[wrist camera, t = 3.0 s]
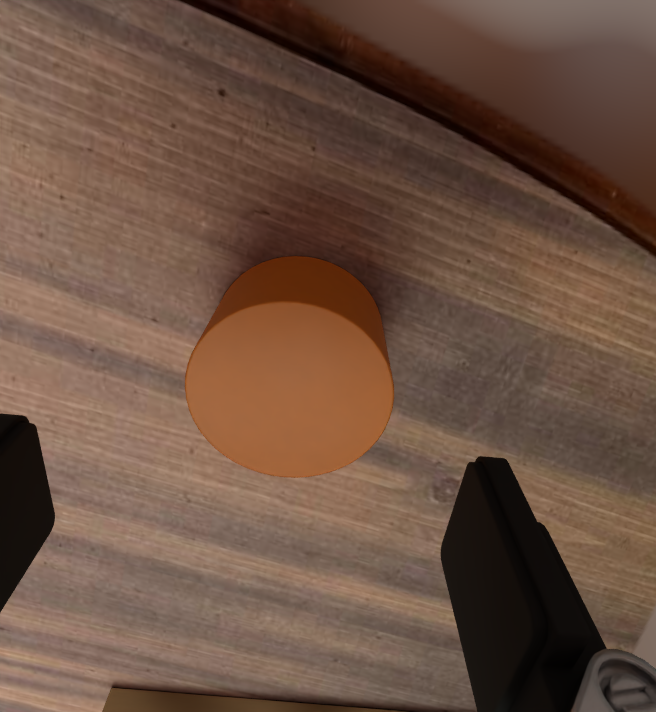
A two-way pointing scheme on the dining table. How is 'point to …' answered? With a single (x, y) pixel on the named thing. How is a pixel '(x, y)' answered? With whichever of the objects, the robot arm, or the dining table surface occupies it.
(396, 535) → the dining table surface
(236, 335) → the cylinder
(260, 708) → the board
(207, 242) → the dining table surface
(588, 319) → the dining table surface
